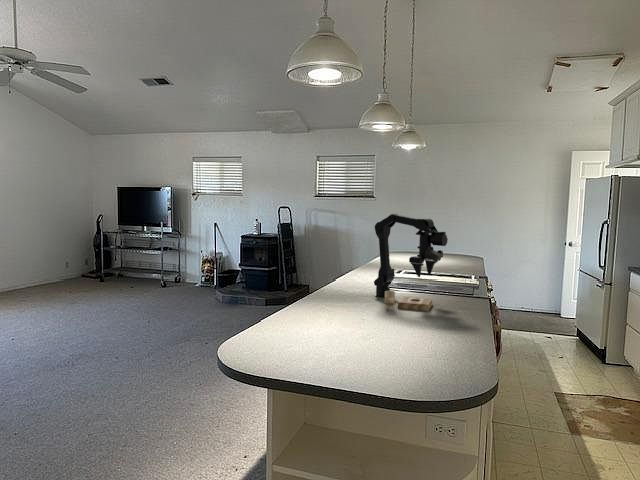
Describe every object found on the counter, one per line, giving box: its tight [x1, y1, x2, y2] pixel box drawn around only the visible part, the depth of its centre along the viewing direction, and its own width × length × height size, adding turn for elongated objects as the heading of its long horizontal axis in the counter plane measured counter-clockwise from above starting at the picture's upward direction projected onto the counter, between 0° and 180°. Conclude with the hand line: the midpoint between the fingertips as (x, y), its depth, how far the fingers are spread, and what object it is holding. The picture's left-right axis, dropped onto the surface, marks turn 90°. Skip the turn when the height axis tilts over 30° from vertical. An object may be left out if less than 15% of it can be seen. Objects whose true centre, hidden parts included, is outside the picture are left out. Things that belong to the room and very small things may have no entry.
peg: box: [384, 290, 396, 312], centre depth 209 cm, size 5×5×8 cm
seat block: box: [397, 295, 433, 312], centre depth 216 cm, size 14×14×3 cm
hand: (424, 276), depth 222 cm, fingers open, 9 cm apart
